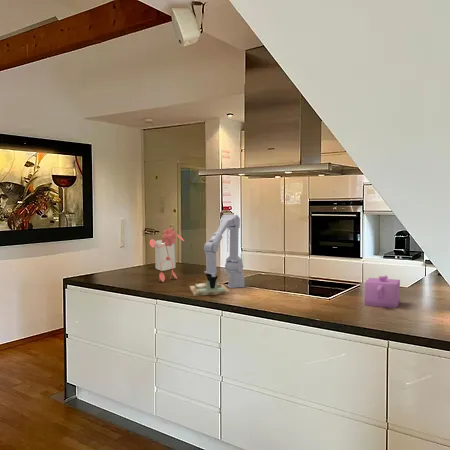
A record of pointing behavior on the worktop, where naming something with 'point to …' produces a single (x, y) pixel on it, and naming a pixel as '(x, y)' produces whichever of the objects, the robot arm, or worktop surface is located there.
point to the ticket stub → (210, 288)
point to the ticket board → (202, 286)
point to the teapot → (382, 292)
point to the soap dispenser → (164, 256)
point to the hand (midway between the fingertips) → (211, 287)
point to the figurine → (168, 240)
